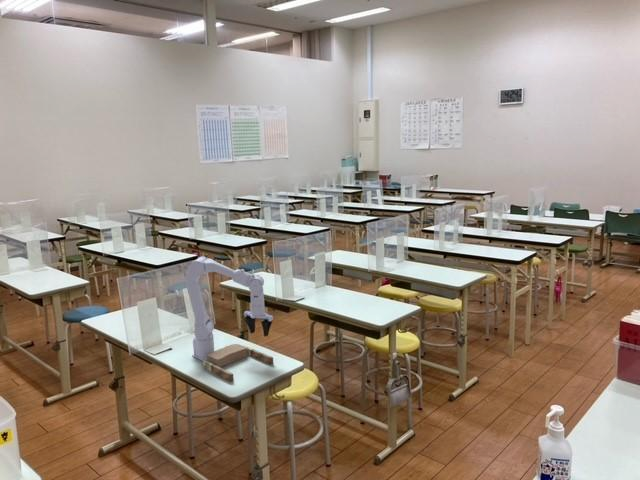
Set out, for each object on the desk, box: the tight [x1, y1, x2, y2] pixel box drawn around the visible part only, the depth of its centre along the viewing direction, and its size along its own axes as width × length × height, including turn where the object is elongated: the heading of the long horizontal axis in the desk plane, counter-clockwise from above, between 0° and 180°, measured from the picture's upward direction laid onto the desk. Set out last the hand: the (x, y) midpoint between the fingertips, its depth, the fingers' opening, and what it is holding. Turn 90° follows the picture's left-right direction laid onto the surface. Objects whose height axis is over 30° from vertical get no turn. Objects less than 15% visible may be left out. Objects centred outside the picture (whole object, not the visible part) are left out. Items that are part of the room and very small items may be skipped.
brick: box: [206, 343, 249, 368], centre depth 214 cm, size 17×8×5 cm, turn 138°
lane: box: [202, 345, 274, 383], centre depth 208 cm, size 20×22×3 cm
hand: (259, 334), depth 215 cm, fingers open, 7 cm apart
